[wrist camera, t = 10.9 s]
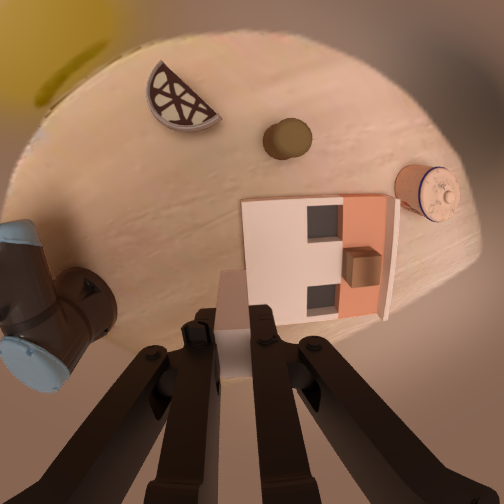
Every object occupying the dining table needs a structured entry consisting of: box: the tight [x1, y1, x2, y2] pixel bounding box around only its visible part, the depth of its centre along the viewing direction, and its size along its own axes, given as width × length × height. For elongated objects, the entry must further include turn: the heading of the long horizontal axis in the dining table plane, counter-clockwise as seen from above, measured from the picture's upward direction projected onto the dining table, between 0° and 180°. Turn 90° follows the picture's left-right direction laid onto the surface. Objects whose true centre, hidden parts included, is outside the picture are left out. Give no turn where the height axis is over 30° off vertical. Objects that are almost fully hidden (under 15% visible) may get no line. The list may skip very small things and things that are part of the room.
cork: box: [263, 118, 312, 160], centre depth 39 cm, size 6×6×11 cm
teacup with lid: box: [395, 165, 460, 222], centre depth 41 cm, size 12×9×12 cm
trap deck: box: [241, 194, 400, 326], centre depth 47 cm, size 25×22×6 cm
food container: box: [146, 60, 222, 132], centre depth 37 cm, size 12×6×10 cm, turn 42°
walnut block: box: [341, 246, 382, 288], centre depth 45 cm, size 5×5×5 cm
